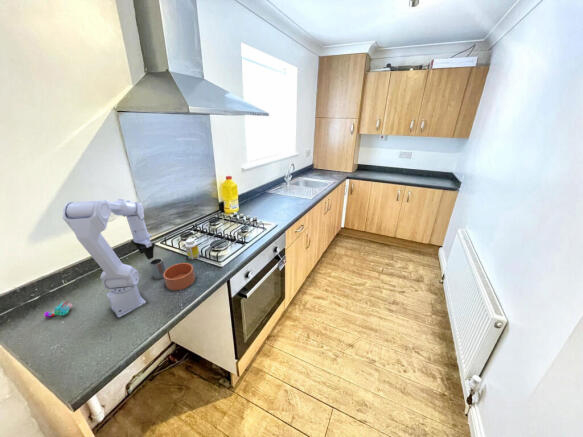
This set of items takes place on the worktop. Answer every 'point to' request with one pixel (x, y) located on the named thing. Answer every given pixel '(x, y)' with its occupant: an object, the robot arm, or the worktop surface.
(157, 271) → the steel cup
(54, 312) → the multicoloured toy
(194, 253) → the supplement bottle
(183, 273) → the terracotta round bowl
